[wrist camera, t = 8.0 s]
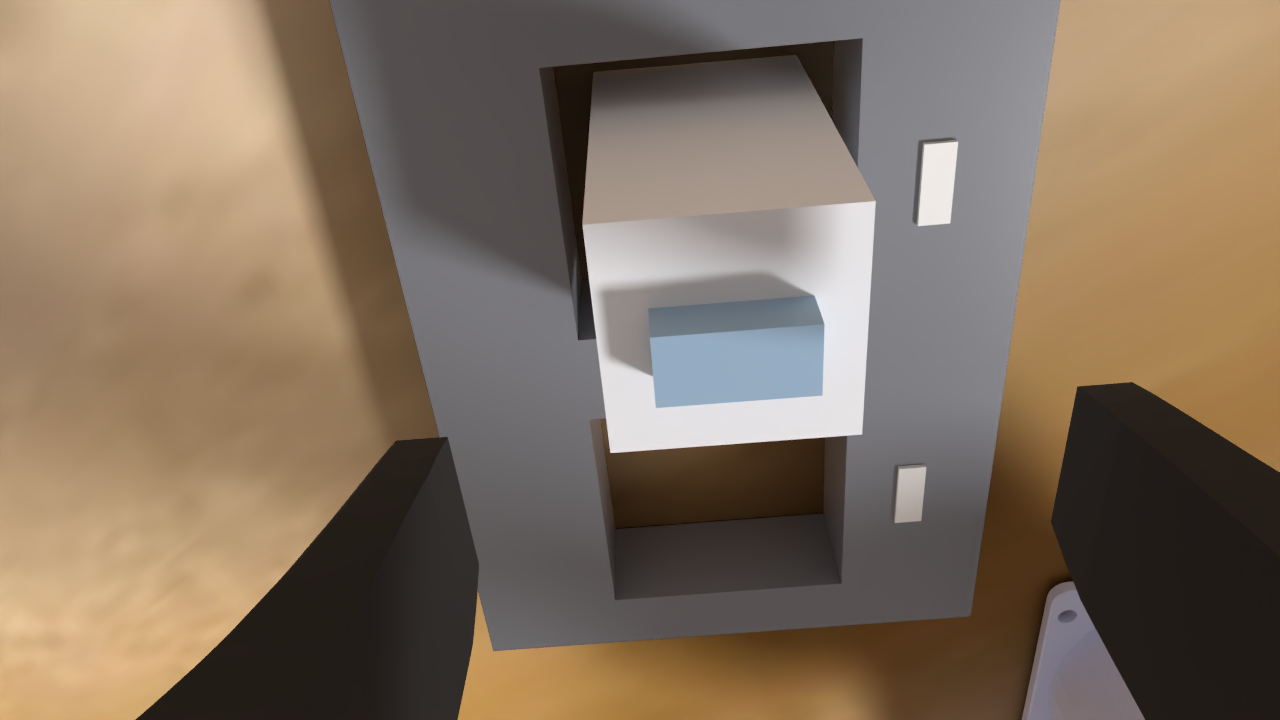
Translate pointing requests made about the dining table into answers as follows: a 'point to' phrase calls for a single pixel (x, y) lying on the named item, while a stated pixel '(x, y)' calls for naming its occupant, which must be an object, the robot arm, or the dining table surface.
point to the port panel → (564, 323)
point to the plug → (725, 256)
